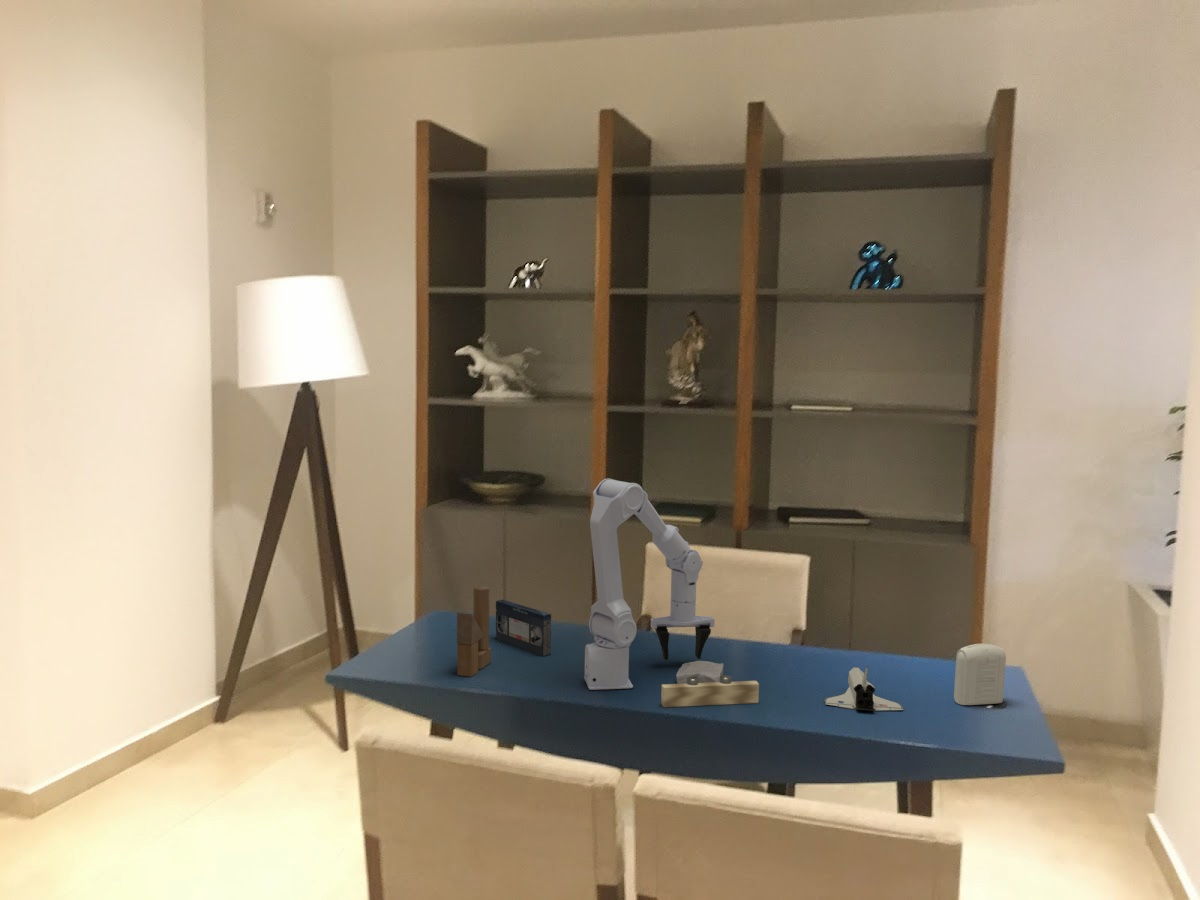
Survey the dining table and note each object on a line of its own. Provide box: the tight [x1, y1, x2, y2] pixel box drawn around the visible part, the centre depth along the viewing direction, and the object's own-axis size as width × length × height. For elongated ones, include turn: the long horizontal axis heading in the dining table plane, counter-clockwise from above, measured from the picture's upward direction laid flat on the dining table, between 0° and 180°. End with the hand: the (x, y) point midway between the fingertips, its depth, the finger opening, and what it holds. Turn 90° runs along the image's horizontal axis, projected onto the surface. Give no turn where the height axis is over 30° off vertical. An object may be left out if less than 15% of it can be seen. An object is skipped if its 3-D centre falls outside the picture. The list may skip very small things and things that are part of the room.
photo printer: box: [953, 643, 1007, 706], centre depth 196 cm, size 10×4×12 cm, turn 103°
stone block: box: [675, 660, 724, 684], centre depth 206 cm, size 12×5×10 cm
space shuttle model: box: [823, 665, 904, 712], centre depth 200 cm, size 16×25×10 cm, turn 170°
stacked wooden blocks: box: [456, 585, 492, 677], centre depth 211 cm, size 4×11×18 cm, turn 163°
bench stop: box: [660, 674, 760, 708], centre depth 194 cm, size 20×3×5 cm, turn 99°
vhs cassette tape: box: [495, 599, 552, 657], centre depth 229 cm, size 18×3×10 cm, turn 43°
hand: (681, 657), depth 216 cm, fingers open, 7 cm apart
